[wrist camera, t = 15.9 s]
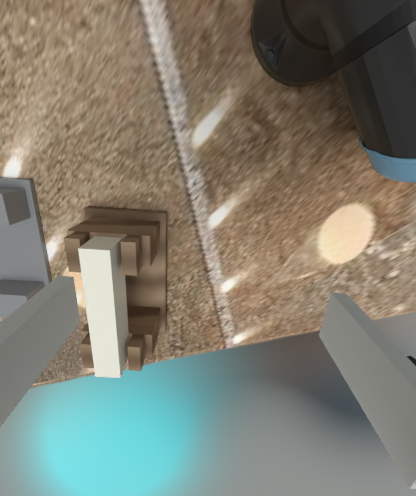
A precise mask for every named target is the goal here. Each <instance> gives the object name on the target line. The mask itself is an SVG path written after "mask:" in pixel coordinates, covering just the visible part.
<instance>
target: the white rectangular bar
mask: <svg viewBox="0 0 416 496" xmlns="http://www.w3.org/2000/svg"><path fill="white" fill-rule="evenodd" d="M122 240H123V238H121V237H105V236H94V237H93V238H91V239H90V240H89V241H87V242H86V243H85V244H83V245H82V246H81V247H79V248H78V252H79V259H80V267H81V274H82V281H83V289H84V296H85V304H86V311H87V318H88V326H89V333H90V341H91V348H92V356H93V363H94V370H95V376H97V377H113V378H120V377H121V375H122V373H123V370H124V368H125V365H126V363H127V360H128V344H129V331H128V315H127V299H126V283H125V275H123V272H122V257H121V241H122Z"/></svg>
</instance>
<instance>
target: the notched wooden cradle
mask: <svg viewBox="0 0 416 496" xmlns="http://www.w3.org/2000/svg"><path fill="white" fill-rule="evenodd" d="M85 216H86V220H85V221H83V222H81V223H80V224H78V225H76V226H74V227H72V228H71V229H69V230H67V237H65V238H64V241H65V248H66V254H67V261H68V267H69V272H81V267H80V259H79V252H78V248H79V247H81V246H82V245H83V244H85V243H86V242H87V241H89V240H90V239H91V238H93V237H94V236H105V237H121V238H123V240H122V241H121V257H122V272H123V275H125V283H126V299H127V315H128V331H129V344H128V362H129V370H137V371H141V369H142V366H143V363H144V359H145V357H152V356H153V353H154V349H155V346H156V342H157V338H158V335H159V333H163V334H165V332H166V310H167V212H165V211H151V210H136V209H121V208H106V207H91V206H88V207H86V208H85ZM82 337H83V341H82V343H81V344H80V345H81V351H82V358H83V364H84V368H94V363H93V356H92V348H91V341H90V333H89V326H88V323H87V324H86V325H85V327H84V328H83V330H82Z"/></svg>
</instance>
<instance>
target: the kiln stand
mask: <svg viewBox="0 0 416 496" xmlns="http://www.w3.org/2000/svg"><path fill="white" fill-rule="evenodd" d="M51 281H52V278H51V273H50V267H49V262H48V257H47V251H46V246H45V240H44V235H43V230H42V224H41V219H40V214H39V208H38V203H37V197H36V192H35V187H34V181H33V180H30V179H16V178H1V177H0V317H4V318H7V317H9V316H10V315H11V314H12V313H14V312H15V311H16V310H17V309H18V308H20V307H21V306H22V305H23V304H24V303H26V302H27V301H28V300H29V299H31V298H32V297H33V296H34V295H35V294H37V293H38V292H39V291H40V290H41V289H43V288H44V287H45V286H46V285H48V284H49V283H50V282H51Z"/></svg>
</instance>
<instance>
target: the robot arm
mask: <svg viewBox="0 0 416 496" xmlns="http://www.w3.org/2000/svg"><path fill="white" fill-rule="evenodd" d="M251 38H252V44H253V48H254V51H255V54H256V57H257V59H258V61H259V63H260V64H261V66H262V67H263V69H264V70H265V71H266V72H267V73H268V74H269V75H270V76H271V77H272V78H273V79H275V80H276V81H278V82H280V83H282V84H285V85H289V86H297V87H300V86H308V85H311V84H314V83H317V82H319V81H321V80H323V79H325V78H326V77H328V76H329V75H331V74H332V73H334V72H335V71H336V70H337V74H338V77H339V80H340V83H341V85H342V88H343V91H344V94H345V96H346V99H347V102H348V105H349V108H350V110H351V113H352V116H353V119H354V121H355V124H356V127H357V130H358V132H359V135H360V138H359V141H360V144H361V146H362V148H363V149H364V150H365V151H366V153H367V155H368V158H369V160H370V162H371V165H372V167H373V168H374V170H375V171H376V172H377V173H380V174H381V175H382V176H384V177H385V178H388V179H391V180H395V181H400V182H413V183H416V0H255V2H254V6H253V11H252V17H251ZM79 323H80V318H79V312H78V305H77V298H76V291H75V285H74V278H73V277H67V276H57V277H56V278H55V279H54V280H52V281H51V282H50V283H49V284H48V285H46V286H45V287H44V288H43V289H41V290H40V291H39V292H38V293H37V294H35V295H34V296H33V297H32V298H31V299H29V300H28V301H27V302H26V303H24V304H23V305H22V306H21V307H20V308H18V309H17V310H16V311H15V312H14V313H12V314H11V315H10V316H9V317H7V318H6V319H5V320H4V321H3V322H1V323H0V427H1V425H2V424H3V423H4V421H5V420H6V419H7V417H8V416H9V415H10V413H11V412H12V411H13V409H14V408H15V407H16V406H17V404H18V403H19V402H20V400H21V399H22V398H23V396H24V395H25V394H26V392H27V391H28V390H29V389H30V387H31V386H32V385H33V383H34V382H35V381H36V379H37V378H38V377H39V375H40V374H41V373H42V371H43V370H44V369H45V367H46V366H47V365H48V363H49V362H50V361H51V360H52V358H53V357H54V356H55V354H56V353H57V352H58V350H59V349H60V348H61V346H62V345H63V344H64V342H65V341H66V340H67V338H68V337H69V336H70V334H71V333H72V332H73V331H74V329H75V328H76V327H77V325H78V324H79ZM319 337H320V338H321V340H322V341H323V343H324V345H325V347H326V348H327V350H328V352H329V353H330V355H331V357H332V358H333V360H334V362H335V363H336V365H337V367H338V369H339V370H340V372H341V374H342V375H343V377H344V379H345V380H346V382H347V384H348V385H349V387H350V389H351V390H352V392H353V394H354V395H355V397H356V399H357V400H358V402H359V403H360V405H361V407H362V409H363V410H364V412H365V414H366V415H367V417H368V419H369V420H370V422H371V424H372V426H373V427H374V429H375V431H376V432H377V434H378V436H379V437H380V439H381V441H382V442H383V444H384V446H385V447H386V449H387V451H388V453H389V454H390V456H391V458H392V459H393V461H394V462H395V464H396V466H397V468H398V469H399V471H400V473H401V474H402V476H403V478H404V479H405V481H406V483H407V484H408V486H409V488H410V489H411V488H412V489H416V359H414V358H413V357H411V356H406V355H405V354H404V353H403V352H402V351H401V350H400V349H399V348H398V347H397V346H396V345H395V344H394V343H393V342H392V341H391V340H390V339H389V338H388V337H387V336H386V335H385V334H384V332H382V330H381V329H380V328H379V327H378V326H377V325H376V324H375V323H374V322H373V321H372V320H371V319H370V318H369V317H368V316H367V315H366V314H365V313H364V312H363V311H362V310H361V309H360V308H359V307H358V305H357V304H356V303H355V302H354V301H353V300H352V299H351V298H350V297H349V296H348V295H347V294H343V293H331V296H330V300H329V303H328V306H327V310H326V313H325V317H324V320H323V324H322V327H321V331H320V334H319Z"/></svg>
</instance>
